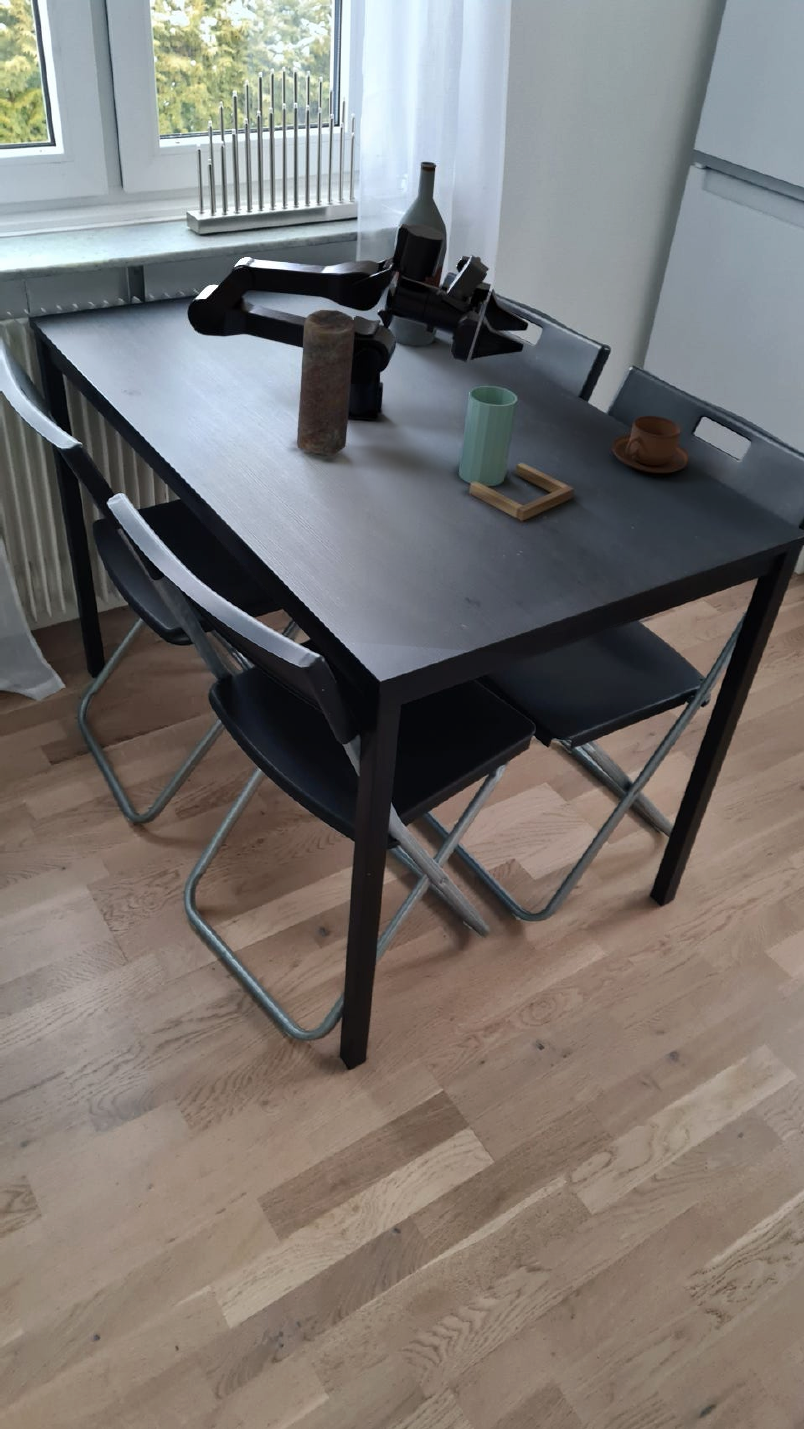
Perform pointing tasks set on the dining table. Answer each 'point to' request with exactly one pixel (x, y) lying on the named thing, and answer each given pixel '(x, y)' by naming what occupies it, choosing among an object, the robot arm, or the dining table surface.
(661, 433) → the cup and saucer
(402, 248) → the robot arm
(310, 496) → the dining table surface
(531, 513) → the frame
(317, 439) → the brown textured cylinder
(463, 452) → the glass
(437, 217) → the bottle
